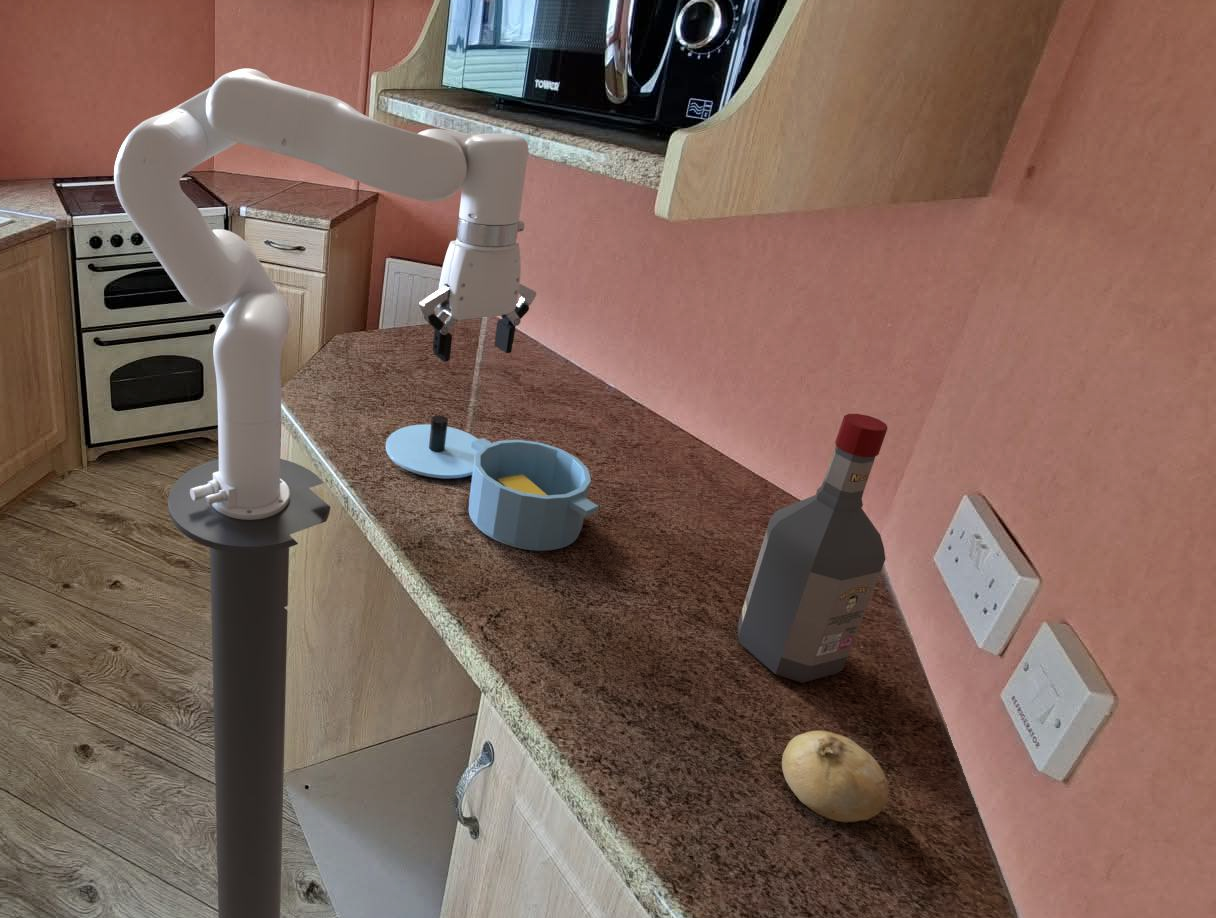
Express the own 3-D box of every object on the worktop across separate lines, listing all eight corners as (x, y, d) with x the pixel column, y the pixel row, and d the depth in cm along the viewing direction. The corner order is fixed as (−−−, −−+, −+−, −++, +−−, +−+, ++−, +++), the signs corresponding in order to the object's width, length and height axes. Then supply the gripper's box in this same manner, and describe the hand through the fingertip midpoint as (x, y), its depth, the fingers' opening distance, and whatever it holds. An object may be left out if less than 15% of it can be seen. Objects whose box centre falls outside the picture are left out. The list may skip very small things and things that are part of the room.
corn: (562, 535, 111) (567, 511, 109) (535, 541, 109) (540, 517, 108) (519, 496, 119) (522, 473, 118) (494, 501, 118) (497, 478, 117)
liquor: (853, 672, 88) (946, 437, 77) (789, 690, 86) (874, 450, 74) (783, 617, 97) (857, 397, 85) (723, 632, 94) (790, 407, 82)
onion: (796, 746, 79) (816, 693, 77) (889, 805, 74) (915, 750, 71) (760, 789, 75) (780, 735, 72) (857, 855, 69) (882, 799, 66)
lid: (431, 492, 121) (435, 454, 118) (365, 445, 134) (367, 410, 132) (509, 464, 129) (515, 428, 126) (439, 421, 142) (443, 388, 140)
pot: (543, 575, 103) (552, 521, 100) (433, 497, 120) (439, 448, 117) (620, 539, 111) (631, 487, 107) (507, 470, 127) (514, 423, 124)
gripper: (526, 221, 108) (510, 337, 115) (413, 230, 103) (403, 350, 110) (561, 234, 102) (542, 356, 109) (442, 245, 97) (430, 372, 104)
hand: (472, 353), depth 109 cm, fingers open, 9 cm apart
